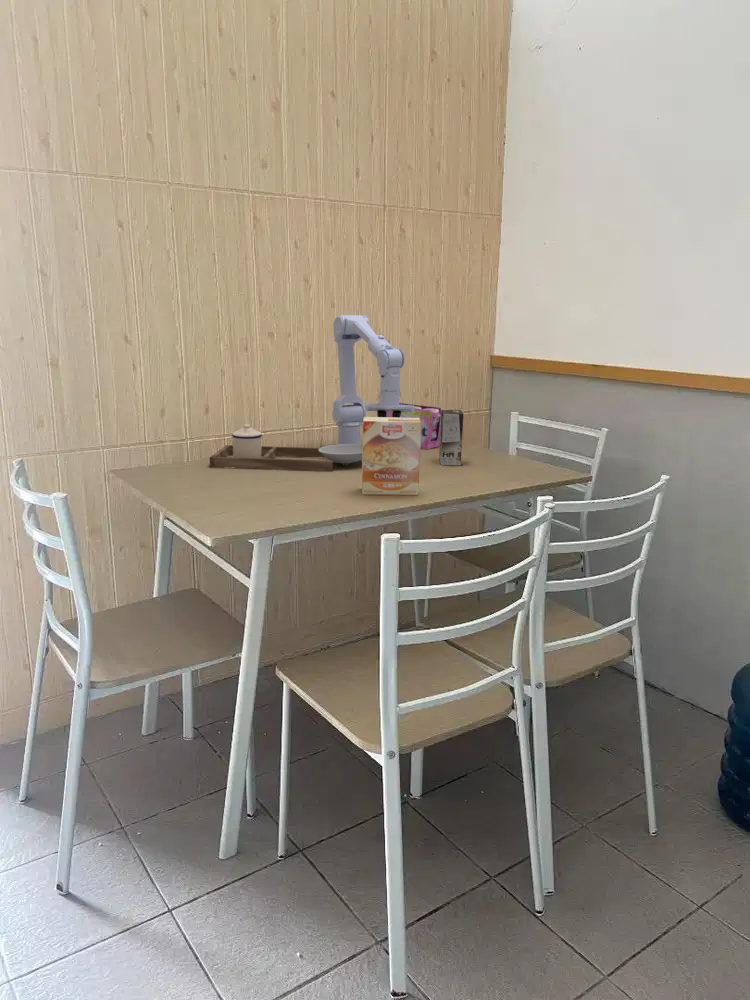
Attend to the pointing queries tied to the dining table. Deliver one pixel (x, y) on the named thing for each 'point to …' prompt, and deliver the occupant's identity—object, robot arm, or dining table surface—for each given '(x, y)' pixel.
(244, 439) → the teacup with lid
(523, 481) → the dining table surface
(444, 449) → the coffee box
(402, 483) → the coffeecake box
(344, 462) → the dish
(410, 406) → the robot arm
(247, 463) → the caddy
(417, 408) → the gum box
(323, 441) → the dining table surface
